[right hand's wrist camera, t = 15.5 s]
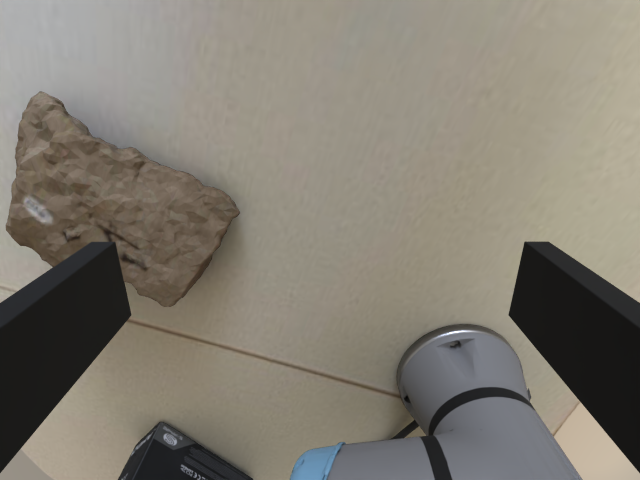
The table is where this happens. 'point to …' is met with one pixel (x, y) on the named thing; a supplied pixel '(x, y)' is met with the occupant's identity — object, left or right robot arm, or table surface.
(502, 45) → the table surface
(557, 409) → the table surface
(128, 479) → the graphics card box
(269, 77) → the table surface
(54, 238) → the stone
